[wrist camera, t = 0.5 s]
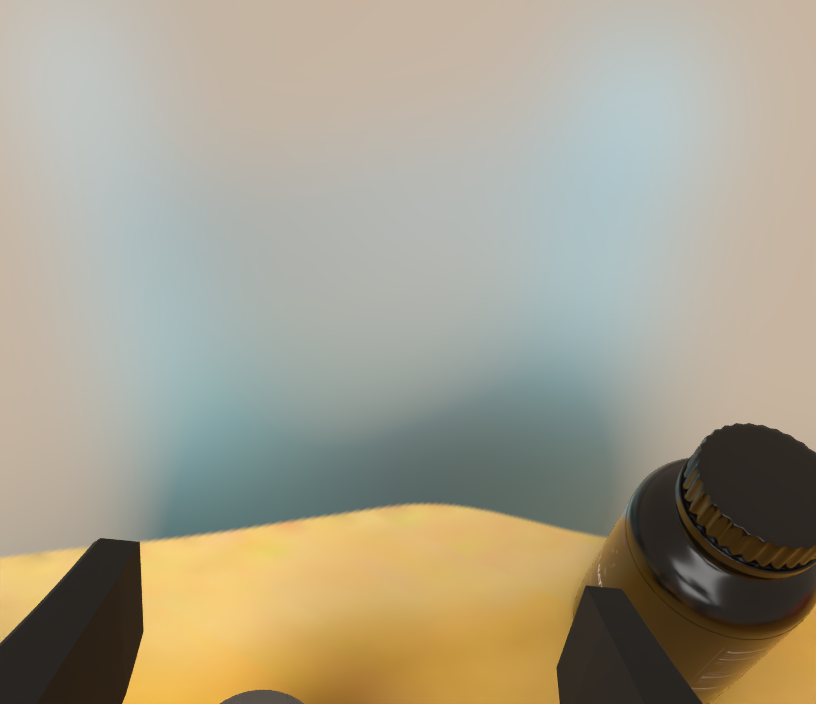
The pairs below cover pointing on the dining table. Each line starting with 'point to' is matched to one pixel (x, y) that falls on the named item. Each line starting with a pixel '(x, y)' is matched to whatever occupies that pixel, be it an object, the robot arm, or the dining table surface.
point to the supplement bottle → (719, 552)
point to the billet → (262, 698)
